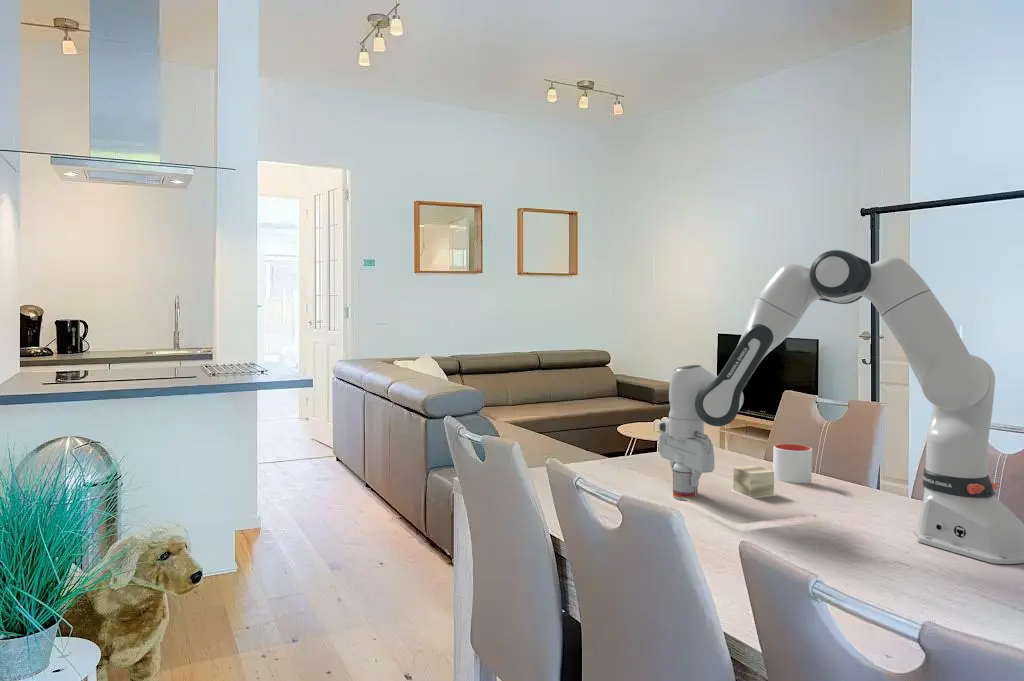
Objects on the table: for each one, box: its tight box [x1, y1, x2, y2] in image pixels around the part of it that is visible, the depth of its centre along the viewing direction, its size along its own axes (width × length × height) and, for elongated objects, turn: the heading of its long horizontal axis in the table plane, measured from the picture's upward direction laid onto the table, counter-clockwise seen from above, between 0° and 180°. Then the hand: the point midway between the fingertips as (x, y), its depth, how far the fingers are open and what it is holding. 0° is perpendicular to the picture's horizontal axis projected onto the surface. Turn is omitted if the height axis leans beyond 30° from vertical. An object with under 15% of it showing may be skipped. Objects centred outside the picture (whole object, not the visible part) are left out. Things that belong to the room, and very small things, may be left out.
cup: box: [772, 443, 813, 485], centre depth 197 cm, size 10×10×10 cm
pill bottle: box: [672, 454, 699, 502], centre depth 181 cm, size 6×6×11 cm
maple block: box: [732, 465, 775, 497], centre depth 182 cm, size 7×7×6 cm
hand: (685, 482), depth 181 cm, fingers closed on pill bottle, 6 cm apart
